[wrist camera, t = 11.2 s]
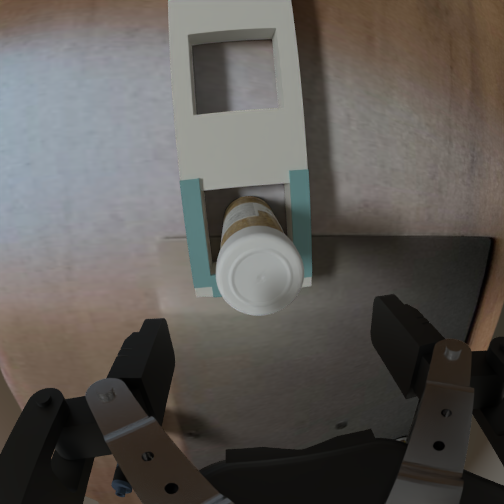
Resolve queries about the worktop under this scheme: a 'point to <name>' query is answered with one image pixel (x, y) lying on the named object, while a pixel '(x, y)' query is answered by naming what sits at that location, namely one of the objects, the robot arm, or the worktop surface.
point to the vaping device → (121, 483)
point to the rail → (238, 125)
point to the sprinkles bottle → (257, 260)
